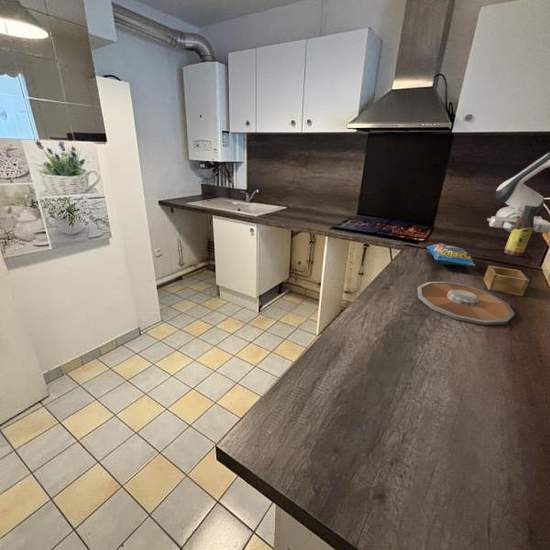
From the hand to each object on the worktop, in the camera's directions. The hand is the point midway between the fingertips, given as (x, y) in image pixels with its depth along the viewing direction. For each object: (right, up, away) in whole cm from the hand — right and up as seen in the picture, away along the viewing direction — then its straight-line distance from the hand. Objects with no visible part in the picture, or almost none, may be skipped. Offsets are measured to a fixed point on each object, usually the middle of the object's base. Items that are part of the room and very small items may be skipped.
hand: (524, 228), depth 114 cm
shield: (-31, -28, -10) cm, 43 cm away
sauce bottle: (0, -10, +5) cm, 11 cm away
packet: (-15, -13, +26) cm, 33 cm away
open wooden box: (-6, -23, +3) cm, 24 cm away
